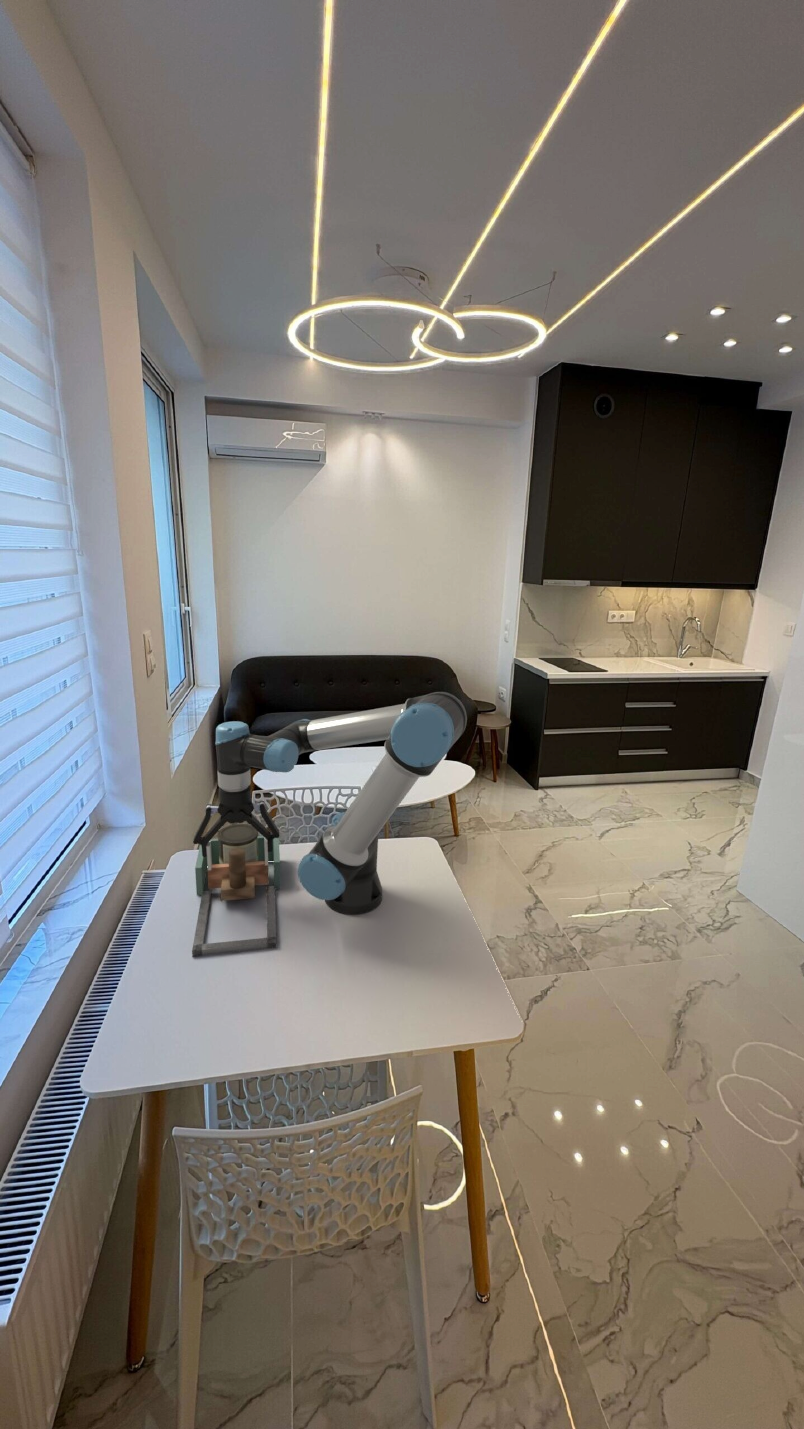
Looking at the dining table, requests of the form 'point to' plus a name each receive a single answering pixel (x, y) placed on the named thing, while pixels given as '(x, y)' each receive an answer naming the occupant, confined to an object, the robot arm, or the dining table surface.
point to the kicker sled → (237, 876)
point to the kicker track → (233, 946)
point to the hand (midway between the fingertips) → (238, 865)
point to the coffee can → (238, 842)
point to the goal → (202, 861)
